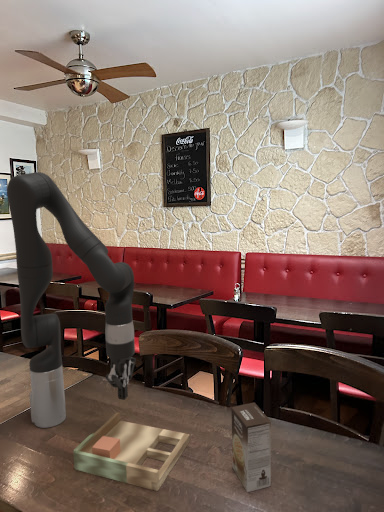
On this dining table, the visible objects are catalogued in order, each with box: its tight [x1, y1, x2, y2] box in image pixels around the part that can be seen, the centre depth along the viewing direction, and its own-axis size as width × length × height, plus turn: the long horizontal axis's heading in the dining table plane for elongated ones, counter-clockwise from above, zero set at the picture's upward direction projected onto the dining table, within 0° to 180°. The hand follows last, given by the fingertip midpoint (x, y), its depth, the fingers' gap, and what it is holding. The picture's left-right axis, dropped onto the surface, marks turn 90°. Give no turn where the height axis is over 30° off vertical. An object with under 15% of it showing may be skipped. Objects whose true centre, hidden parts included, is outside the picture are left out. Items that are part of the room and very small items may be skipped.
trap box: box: [73, 411, 191, 492], centre depth 101 cm, size 23×20×5 cm
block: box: [92, 436, 121, 459], centre depth 97 cm, size 5×5×4 cm
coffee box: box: [231, 402, 272, 493], centre depth 90 cm, size 9×6×16 cm
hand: (123, 398), depth 106 cm, fingers closed
